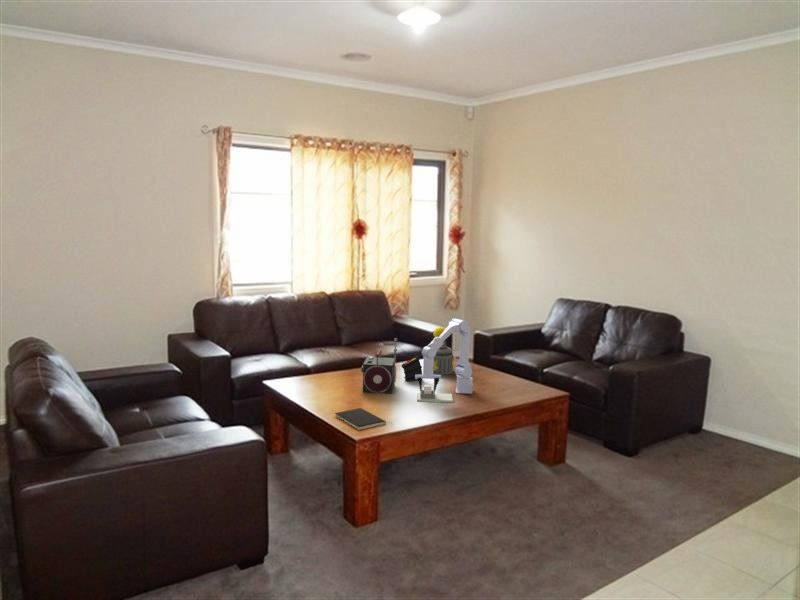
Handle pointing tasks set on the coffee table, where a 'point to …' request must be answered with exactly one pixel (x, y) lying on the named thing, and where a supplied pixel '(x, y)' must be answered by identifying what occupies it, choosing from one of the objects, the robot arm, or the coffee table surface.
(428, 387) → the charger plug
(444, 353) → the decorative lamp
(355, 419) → the hardcover book
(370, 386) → the boombox
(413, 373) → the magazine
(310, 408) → the coffee table surface
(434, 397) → the plate
